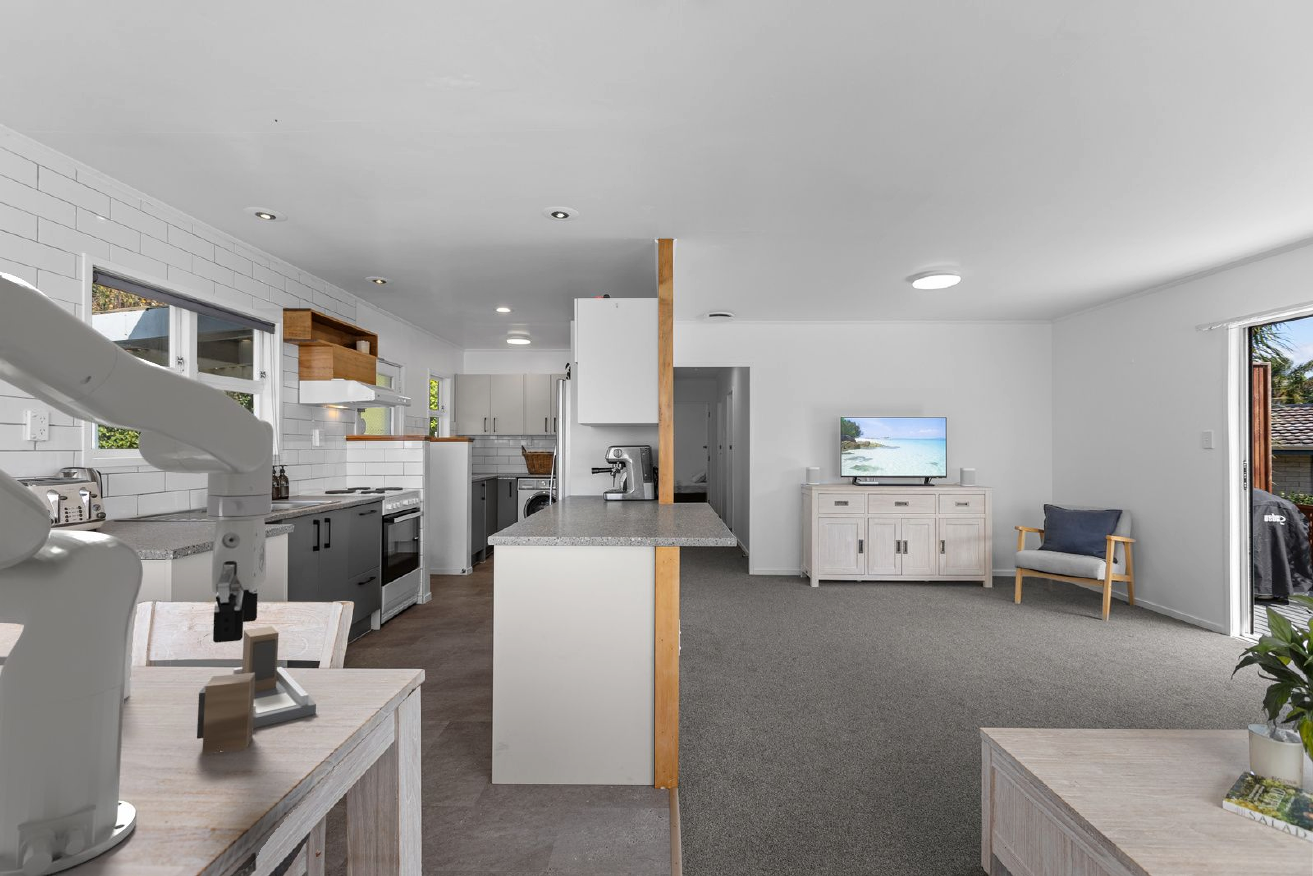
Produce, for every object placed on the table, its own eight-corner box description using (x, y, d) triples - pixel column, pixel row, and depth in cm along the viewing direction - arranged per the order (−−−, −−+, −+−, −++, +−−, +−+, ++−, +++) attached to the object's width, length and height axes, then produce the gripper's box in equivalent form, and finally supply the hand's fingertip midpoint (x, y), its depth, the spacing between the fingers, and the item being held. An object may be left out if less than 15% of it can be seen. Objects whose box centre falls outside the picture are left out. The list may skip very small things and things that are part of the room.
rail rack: (315, 714, 98) (318, 645, 98) (239, 731, 91) (242, 657, 92) (286, 682, 111) (288, 621, 112) (217, 695, 104) (220, 631, 105)
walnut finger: (246, 749, 86) (249, 681, 86) (194, 755, 84) (198, 686, 84) (252, 736, 90) (255, 672, 90) (203, 743, 88) (206, 677, 88)
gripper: (259, 513, 82) (255, 646, 82) (280, 501, 98) (277, 613, 98) (189, 514, 79) (185, 653, 79) (223, 502, 95) (219, 617, 95)
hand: (236, 630), depth 88 cm, fingers open, 9 cm apart
